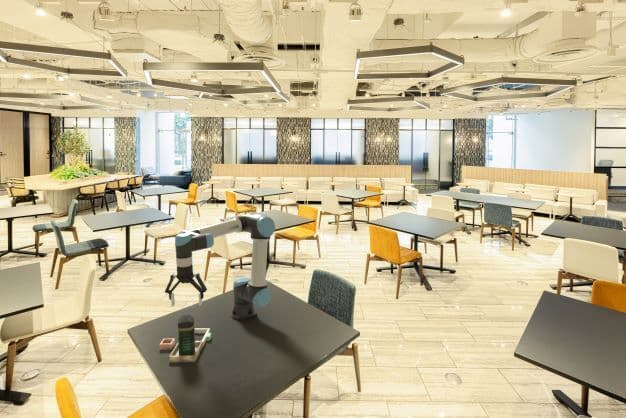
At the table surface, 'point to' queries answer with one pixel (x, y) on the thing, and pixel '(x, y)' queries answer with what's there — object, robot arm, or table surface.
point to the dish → (167, 344)
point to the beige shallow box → (192, 358)
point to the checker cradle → (207, 335)
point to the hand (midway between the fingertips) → (186, 305)
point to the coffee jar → (186, 335)
